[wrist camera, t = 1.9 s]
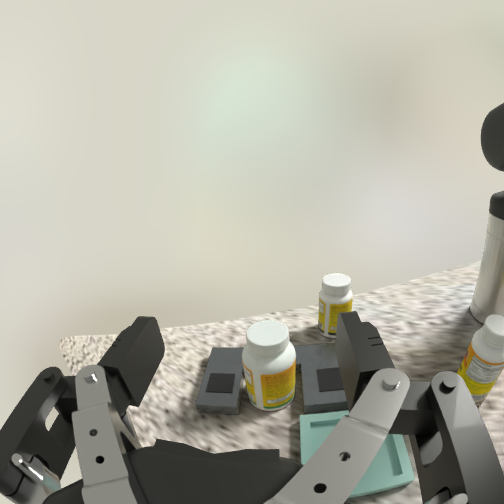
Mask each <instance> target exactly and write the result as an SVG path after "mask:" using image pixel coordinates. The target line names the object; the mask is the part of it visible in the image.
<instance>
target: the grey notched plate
mask: <svg viewBox="0 0 504 504" xmlns="http://www.w3.org/2000/svg"><path fill="white" fill-rule="evenodd" d="M294 348H295V352H296V370H295V373H301V382H302V395H303V410H304V414H305V413H317V412H327V411H336V410H344V409H348V405H347V400H346V396H345V391H344V387H343V382H342V378H341V374H340V369H339V365H338V361H337V357H336V351H335V343H326V344H314V345H299V346H294ZM243 349H244V348H217V347H213V348H212V351H211V354H210V358H209V361H208V364H207V368H206V371H205V374H204V378H203V381H202V384H201V388H200V391H199V394H198V398H197V401H196V406H197V409H198V411H199V412H200V413H213V414H231V415H239V409H240V402H241V395H242V388H243V381H244V368H243V362H242V352H243Z"/></svg>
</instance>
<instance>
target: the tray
mask: <svg viewBox="0 0 504 504" xmlns="http://www.w3.org/2000/svg"><path fill="white" fill-rule="evenodd" d="M348 414H349V410H346V411H339V412H330V413H320V414H308V415H300V419H299V424H300V452H301V464H303V465H305V464H306V462H307V461H308V460H309V459H310V458H311V457H312V455H313V454H314V453H315V452H316V451H317V449H318V448H319V447H320V446H321V444H322V443H323V442H324V441H325V439H326V438H327V437H328V435H329V434H330V433H331V432H332V430H333V429H334V428H335V426H336V425H337V423H338V422H339V421H340V419H341V418H342V417H343V416H344V415H348ZM414 479H415V478H414V474H413V470H412V466H411V463H410V459H409V455H408V452H407V449H406V445H405V442H404V438H403V435H400V434H387V436H386V438H385V440H384V442H383V444H382V445H381V447H380V449H379V451H378V452H377V454H376V456H375V458H374V459H373V461H372V463H371V464H370V466H369V467H368V469H367V471H366V472H365V474H364V475H363V477H362V478H361V480H360V481H359V483H358V484H357V486H356V487H355V489H354V490H353V491H352V493H351V494H350V496H349V497H348V498H347V499H349V498H354V497H360V496H365V495H369V494H374V493H378V492H382V491H386V490H390V489H393V488H397V487H400V486H404V485H407V484H410V483H411V482H412V481H413V480H414Z"/></svg>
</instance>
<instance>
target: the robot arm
mask: <svg viewBox="0 0 504 504" xmlns="http://www.w3.org/2000/svg"><path fill="white" fill-rule="evenodd" d="M481 146H482V150H483V153H484V156H485V158H486V159H487V161H488V162H489V164H490V165H491V166H492V167H494V168H496V169H498V170H500V171H504V103H503V104H501V105H499V106H498V107H496V108H495V109H493V110H492V111H490V112H489V114H488V115H487V117H486V118H485V120H484V123H483V126H482V130H481ZM470 311H471V313H472V315H473V316H474V317H475V318H476V319H477V320H478V321H479V322H481V323H483V324H484V323H485V320H486V318H487V317H488V316H490V315H501V316H503V317H504V191H502V192H498V193H495V194H493V195H492V197H491V200H490V209H489V220H488V228H487V235H486V241H485V247H484V253H483V258H482V263H481V267H480V272H479V276H478V280H477V284H476V288H475V292H474V295H473V299H472V302H471V306H470ZM335 351H336V357H337V361H338V365H339V369H340V374H341V378H342V382H343V387H344V391H345V396H346V400H347V405H348V409H349V414H348V415H344V416H343V417H342V418H341V419H340V421H339V422H338V423H337V425H336V426H335V428H334V429H333V430H332V432H331V433H330V434H329V435H328V437H327V438H326V439H325V441H324V442H323V443H322V444H321V446H320V447H319V448H318V449H317V451H316V452H315V453H314V454H313V455H312V457H311V458H310V459H309V460H308V461H307V462H306V464H305V465H303V464H301V463H299V462H296V461H294V460H291V459H287V458H283V457H279V449H269V450H263V449H245V450H239V451H232V452H225V453H216V454H213V453H209V452H206V451H203V450H200V449H197V448H195V447H192V446H189V445H187V444H184V443H178V442H172V441H166V440H161V439H156V442H155V445H154V446H150V447H143V448H142V446H141V444H140V442H139V440H138V437H137V435H136V432H135V429H134V426H133V424H132V421H131V418H130V415H129V412H128V411H127V408H128V406H129V405H132V406H136V407H139V405H140V403H141V401H142V399H143V397H144V395H145V393H146V391H147V389H148V387H149V385H150V382H151V380H152V378H153V376H154V374H155V372H156V370H157V368H158V366H159V364H160V362H161V360H162V358H163V356H164V352H165V346H164V342H163V339H162V336H161V333H160V329H159V326H158V323H157V320H156V318H155V317H144V316H139V317H137V319H136V320H135V322H134V323H133V324H132V325H131V326H129V327H128V328H126V329H125V330H123V331H122V332H121V333H120V334H119V336H118V337H117V338H116V341H114V342H113V344H112V346H110V348H109V349H108V350H107V352H106V353H105V355H104V356H103V357H102V359H101V360H100V362H99V363H98V364H97V365H89V366H86V367H84V368H82V369H81V370H80V371H79V372H78V373H77V375H76V376H64V375H63V373H62V372H61V370H60V369H59V368H57V367H49V368H46V369H45V370H43V371H42V372H41V373H40V374H39V375H38V376H37V378H36V379H35V381H34V382H33V383H32V385H31V386H30V387H29V389H28V390H27V391H26V393H25V395H24V396H23V397H22V399H21V400H20V401H19V403H18V405H17V406H16V407H15V409H14V410H13V412H12V413H11V415H10V416H9V418H8V419H7V421H6V422H5V424H4V425H3V427H2V429H1V430H0V493H1V494H2V495H3V496H5V497H6V498H8V499H9V500H11V501H12V502H14V503H15V504H350V503H349V502H348V501H347V498H348V497H349V496H350V494H351V493H352V491H353V490H354V489H355V487H356V486H357V484H358V483H359V481H360V480H361V478H362V477H363V475H364V474H365V472H366V471H367V469H368V467H369V466H370V464H371V463H372V461H373V459H374V458H375V456H376V454H377V452H378V451H379V449H380V447H381V445H382V444H383V442H384V440H385V438H386V436H387V434H400V435H409V437H410V441H411V446H412V450H413V454H414V459H415V463H416V468H417V473H418V478H419V483H420V489H421V495H422V501H423V504H504V475H503V472H502V469H501V466H500V463H499V460H498V457H497V454H496V451H495V449H494V446H493V443H492V441H491V438H490V436H489V433H488V431H487V428H486V426H485V424H484V421H483V419H482V417H481V415H480V413H479V410H478V408H477V406H476V404H475V402H474V400H473V398H472V396H471V394H470V392H469V390H468V388H467V386H466V384H465V382H464V380H463V379H462V377H461V376H459V375H458V374H457V373H454V372H451V371H442V372H439V373H437V374H436V375H435V376H434V377H433V379H432V381H431V382H427V381H412V380H409V378H408V377H407V375H406V374H405V373H404V372H402V371H400V370H398V369H395V367H394V365H393V362H392V360H391V358H390V356H389V354H388V351H387V349H386V347H385V345H384V344H383V341H382V339H381V338H380V335H379V332H378V330H377V328H376V327H374V326H373V325H372V324H371V323H369V322H361V321H360V318H359V316H358V314H357V312H356V311H353V312H342V313H339V314H338V319H337V330H336V340H335ZM53 407H55V409H56V410H57V411H58V413H59V415H58V416H57V418H56V420H55V421H54V423H53V425H52V427H51V428H50V430H49V431H48V430H47V429H46V426H45V420H46V418H47V416H48V415H49V413H50V411H51V410H52V408H53ZM75 446H76V449H77V454H78V459H79V464H80V469H81V474H82V479H81V480H78V481H77V482H75V483H73V484H70V485H69V486H66V487H64V488H61V485H60V480H61V478H62V475H63V473H64V470H65V468H66V466H67V464H68V461H69V459H70V457H71V455H72V453H73V451H74V449H75Z"/></svg>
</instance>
